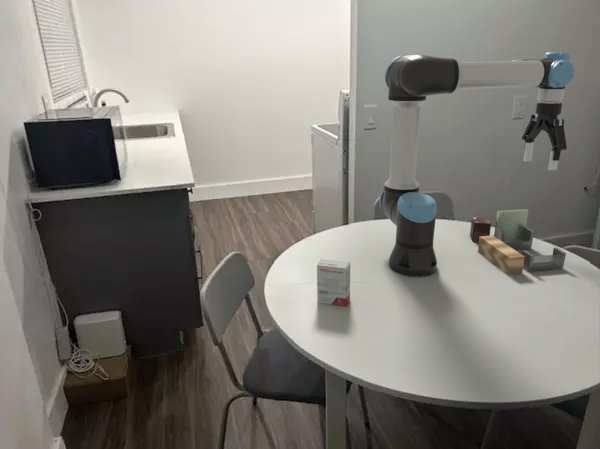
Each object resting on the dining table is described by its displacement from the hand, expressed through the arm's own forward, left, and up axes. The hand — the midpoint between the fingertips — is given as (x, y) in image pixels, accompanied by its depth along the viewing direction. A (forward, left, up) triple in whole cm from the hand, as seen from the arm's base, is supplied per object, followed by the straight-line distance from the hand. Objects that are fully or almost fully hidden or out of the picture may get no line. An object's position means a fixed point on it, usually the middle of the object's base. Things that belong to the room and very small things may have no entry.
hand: (539, 165), depth 161 cm
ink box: (-79, -30, -28) cm, 89 cm away
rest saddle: (-9, -22, -28) cm, 37 cm away
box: (-16, +5, -28) cm, 33 cm away
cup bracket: (-9, -5, -28) cm, 30 cm away
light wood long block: (-20, -15, -28) cm, 38 cm away
